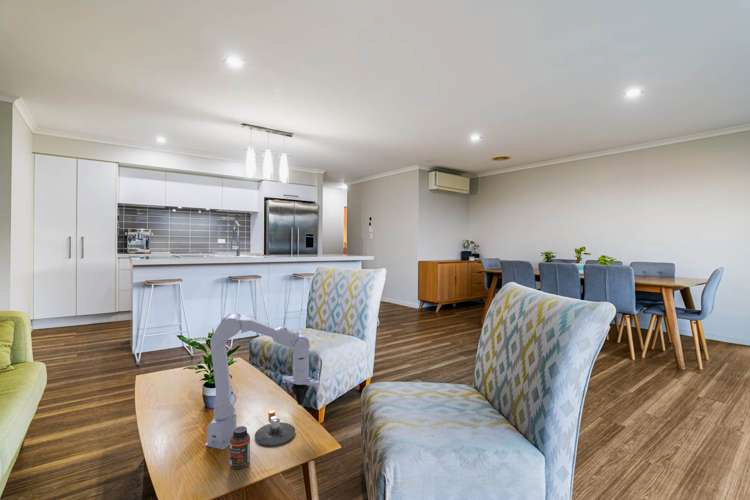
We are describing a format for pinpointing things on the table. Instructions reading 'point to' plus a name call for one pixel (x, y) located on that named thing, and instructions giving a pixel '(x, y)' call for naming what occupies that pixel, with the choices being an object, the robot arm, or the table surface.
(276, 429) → the crank
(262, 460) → the table surface
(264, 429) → the plate
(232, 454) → the supplement bottle
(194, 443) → the table surface
